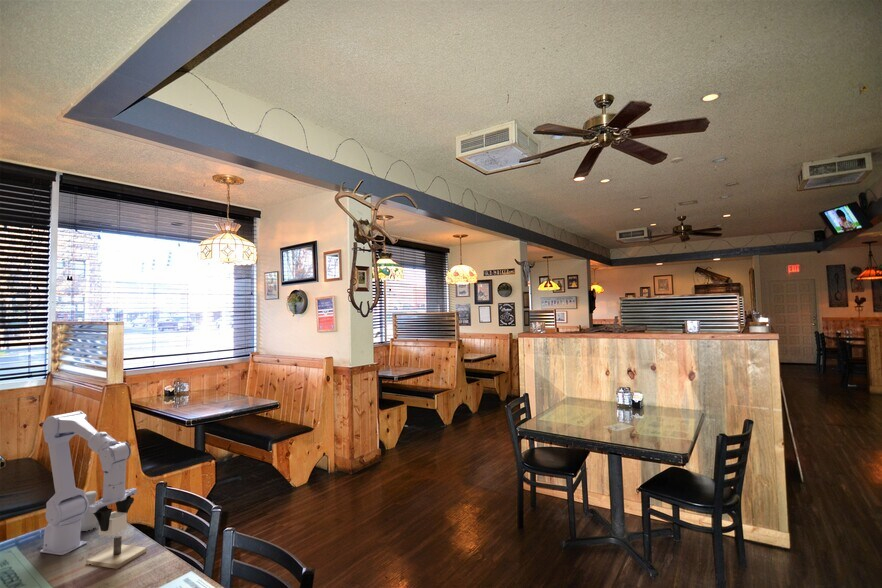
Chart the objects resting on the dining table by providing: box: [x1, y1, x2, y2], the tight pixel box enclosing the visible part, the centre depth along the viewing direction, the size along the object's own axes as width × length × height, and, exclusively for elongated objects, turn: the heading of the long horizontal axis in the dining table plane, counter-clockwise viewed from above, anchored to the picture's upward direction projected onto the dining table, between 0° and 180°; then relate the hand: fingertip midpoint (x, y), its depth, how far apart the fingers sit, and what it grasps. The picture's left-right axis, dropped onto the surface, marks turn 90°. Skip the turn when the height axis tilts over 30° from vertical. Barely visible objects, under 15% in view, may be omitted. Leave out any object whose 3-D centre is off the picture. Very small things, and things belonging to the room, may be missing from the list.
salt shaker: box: [81, 490, 99, 532], centre depth 157 cm, size 6×6×13 cm
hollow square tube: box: [98, 511, 128, 537], centre depth 138 cm, size 5×5×5 cm
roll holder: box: [85, 535, 148, 570], centre depth 138 cm, size 12×10×6 cm
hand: (112, 526), depth 138 cm, fingers closed on hollow square tube, 5 cm apart
